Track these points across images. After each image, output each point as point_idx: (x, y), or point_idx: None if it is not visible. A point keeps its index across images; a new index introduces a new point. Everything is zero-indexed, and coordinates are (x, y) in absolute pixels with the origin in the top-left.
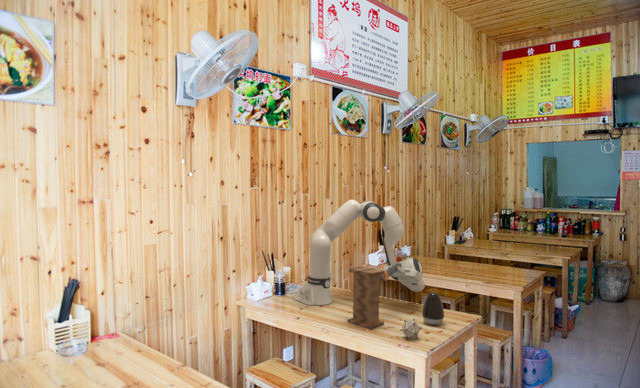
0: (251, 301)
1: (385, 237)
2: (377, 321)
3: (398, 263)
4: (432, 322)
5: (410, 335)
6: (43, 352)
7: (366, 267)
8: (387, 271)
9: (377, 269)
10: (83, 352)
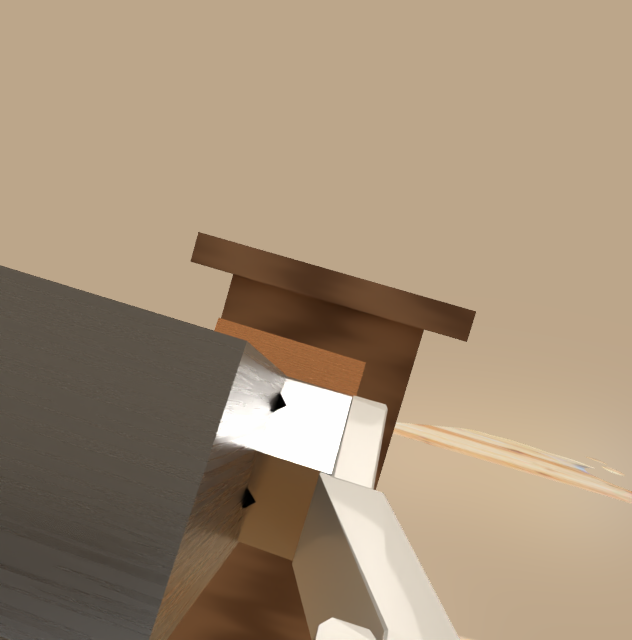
0: None
1: None
2: None
3: (145, 313)
4: None
5: None
6: (612, 471)
7: (394, 288)
8: (222, 319)
9: (269, 252)
10: (583, 471)
